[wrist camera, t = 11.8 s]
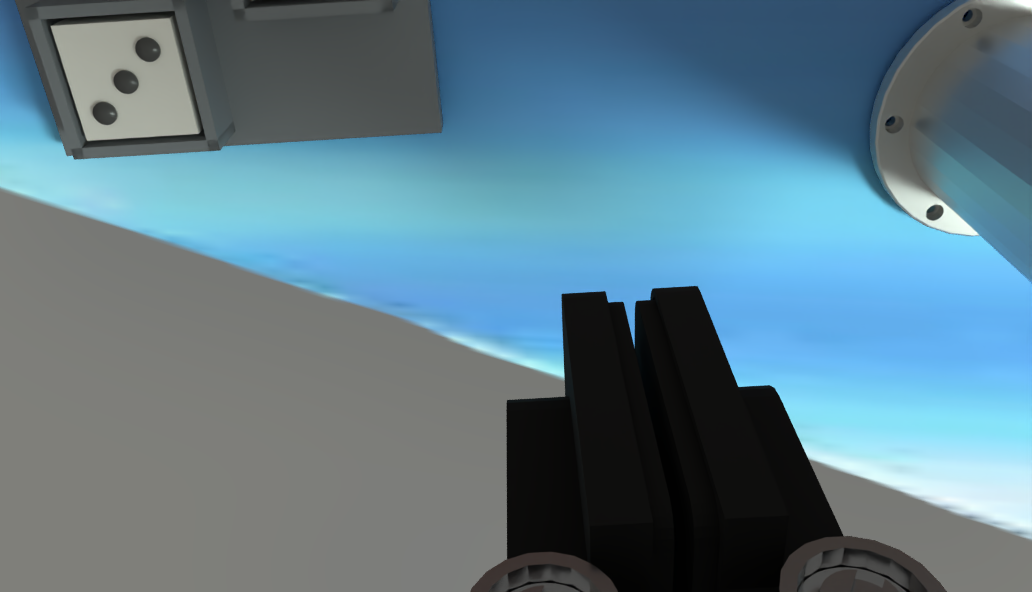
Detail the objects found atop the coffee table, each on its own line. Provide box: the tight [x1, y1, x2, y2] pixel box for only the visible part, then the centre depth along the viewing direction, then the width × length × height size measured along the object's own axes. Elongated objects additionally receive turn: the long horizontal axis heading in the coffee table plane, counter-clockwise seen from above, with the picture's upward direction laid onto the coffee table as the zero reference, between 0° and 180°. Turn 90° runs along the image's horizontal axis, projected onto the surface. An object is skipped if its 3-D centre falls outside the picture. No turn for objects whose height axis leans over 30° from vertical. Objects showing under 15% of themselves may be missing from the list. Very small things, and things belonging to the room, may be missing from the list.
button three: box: [51, 11, 203, 141], centre depth 38 cm, size 5×5×2 cm
